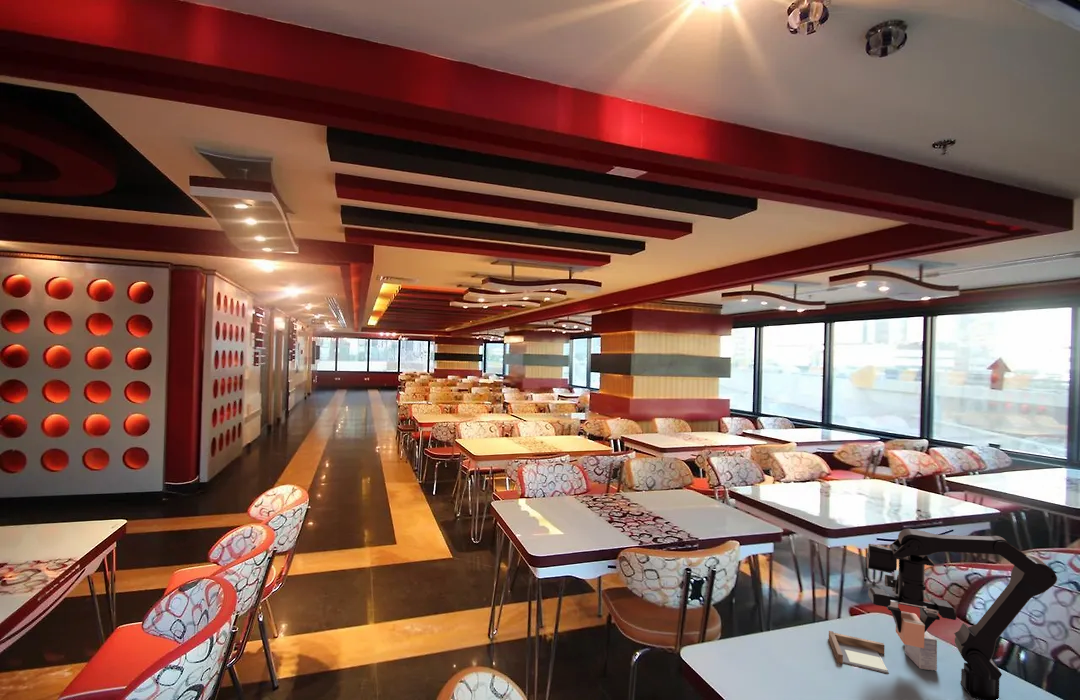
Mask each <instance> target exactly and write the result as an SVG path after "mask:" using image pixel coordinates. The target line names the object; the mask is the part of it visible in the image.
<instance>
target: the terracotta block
mask: <svg viewBox="0 0 1080 700" xmlns="http://www.w3.org/2000/svg"><path fill="white" fill-rule="evenodd" d="M895 633H896V634H897V636H898V638H899V639H900V641H901V642H902V643H903V644H904V645H905V644H906V645H910V646H915V647H920V648H924V635H925V625H924V623H923V622H921V620H920V617H919V616H918V615H917V614H916V613H914V612H908V611H902V610H901V633H899V632H898V630H897V627H896V626H895Z"/></svg>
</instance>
